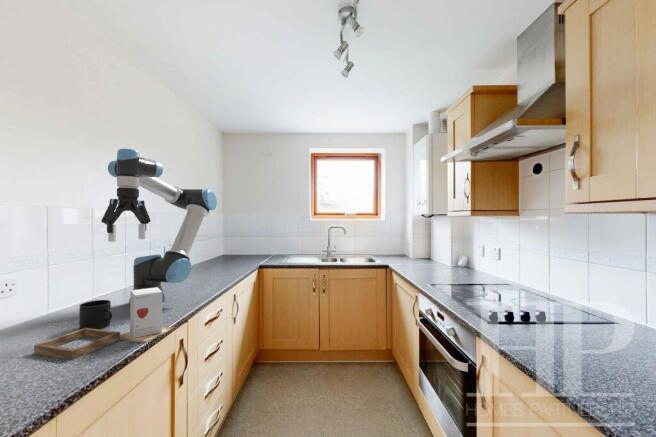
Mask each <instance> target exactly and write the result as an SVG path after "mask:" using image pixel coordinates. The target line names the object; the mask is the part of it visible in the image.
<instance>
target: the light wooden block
mask: <svg viewBox="0 0 656 437" xmlns="http://www.w3.org/2000/svg"><path fill="white" fill-rule="evenodd" d="M174 329H175V327H173V326H163V325H162V332H161V333H156V334H151V335H147V336H142V337H137V338H133V336H132V334H131V332H130V330H128V331H125V332H124V333H120V339H119V340H118V341H120V340H121V341H128V342H134V343H135V342H136V343H143V344H146V343H148V342H150V341H152V340H154V339H157V338H158V337H161V336H163V335H165V334H167V333H169V332H171V331H173V330H174Z"/></svg>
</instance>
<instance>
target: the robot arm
mask: <svg viewBox="0 0 656 437" xmlns="http://www.w3.org/2000/svg"><path fill="white" fill-rule="evenodd" d="M116 154H117V155H116V160H111V161H110V162H109V163H108V164H107V172H108V174H109V175H110V176H111V177H114V178H116V186H117V188H116V197H117V198H110V199H109V204H108V206H107V208H106V211H105V212H104V215H103V216H102V218H101V221H100V222H101V223H103V224H104V225H106V233H107V236H108V239H107V240H108V241H107V242H110V243H112V242H114V243H116V242H117V241H116V240H117V239H116V238H117V231H116V230H117V224H115V222H116V221H118V219H119V218H120V216H121V215H122V213H124V212H125V211H127V212H132V213H133V215H134V216H135V217H136V219H137V220H138V221H139V223H138V240H146V231H147V224H149V223H151V218H150V215H149V212H148V209H147V208H146V204H145V203H146V202H145V200H138V199H139V197H140V190H139V188H140V187H141V188H142V189H144V190H147V191H148V192H150V193H152V194H154V195H156V196H158V197H161V198H162V199H164V201H165V202H166V203H168V204H170V205H172V206H175V207H177V208H180V209H183V210H186V211H187V212H186V214H185V216H184V218H183V220H182V223H181V226H180V227H179V230H178V232H177V235H176V236H175V239H174V241H173V243H172V245H171V248H170V249H169V250H167V251H166V252H165V254H163V257H162V255H161V254H159V253H158V254H151V255H150V254H149V255H144V256H143V255H142V256H137V257H135V258H134V260H133V288H132V290H139V289H147V288H156V287H158V288H159V289H160V290H161V291H162V303H163V302H165V300H166V295H165V294H164V291H163V287H162V283H166V284H167V283H169V284H180V283H182V282H184V281H186V280H187V279H188V278H189V276H190V274H191V272H192V262H191V261H190V260H191V257H189V254H190V253H191V252H190V251H191V250H192V247H193V244H194V242H195V240H196V237H197V235H198V232H199V229H200V227H201V225H202V222H203V221H204V218H205V217H207V216H208V215H209V213H210V211H213V210H215V209H216V208H217V205H218V201H217V200H218V199H217V196H216V193H215V192H214V190H211V189H209V188H207V189H206V188H202V189H201V188H193V189H192V188H191V189H190V188H189V189H187V188H186V189H185V188H180V187H177V186H176V185H175V186H173V185H170V184H168V183H167V182H165V181H163V180H161V179H160V178H159V177H162V176H161V175H162V174H164V173H163V172H164V168H163V165H162V163H161V162H159V161H156V160H154V159H148V158H144V157H141V156H140V152H139V151H138V150H136V149H134V148H133V149H132V148H119V149H118V150H117V153H116ZM128 302H129V303H128V304H129V306H130V302H131V297H130V298H129V301H128Z"/></svg>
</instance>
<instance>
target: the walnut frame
mask: <svg viewBox="0 0 656 437" xmlns="http://www.w3.org/2000/svg"><path fill="white" fill-rule="evenodd" d="M120 335H121V332H120V331H113V330H105V329H91V328H83V329H81V330H80V329H78V330H76V331H72V332H69V333H67V334H64V335H61V336H57V337H55V338H51V339H50V340H46V341H44V342H41V343H40V342H39V343H38V344H34V345H33V354H35V355H39V356H46V357H53V358H59V359H64V360H72V361H73V360H75V359H78V358H80V357H82V356H85V355H87V354H89V353H91V352H94V351H96V350H99V349H101V348H103V347H106V346H107V345H110V344H113V343H115V342H118V341H120V340H119V339H120ZM84 337H86V338H92V339H93V338H94V339H96V340H93V341H90V342H88V343H85V344H83V345H80V346H78V347H76V348H67V347H61V346H63V345H65V344H68V343H71V342H73V341H77V340H79V339H81V338H84Z"/></svg>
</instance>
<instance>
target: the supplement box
mask: <svg viewBox="0 0 656 437" xmlns="http://www.w3.org/2000/svg"><path fill="white" fill-rule="evenodd" d="M130 298H131V302H130V305H129V308H130V311H129V331H130V332H131V334H132V336H133V338H137V337H142V336H147V335H151V334H156V333H161V332H162V326H163V302H162V291H161V290H160V289H159V288H158V287H156V288H147V289H139V290H133V289H131V290H130Z"/></svg>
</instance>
